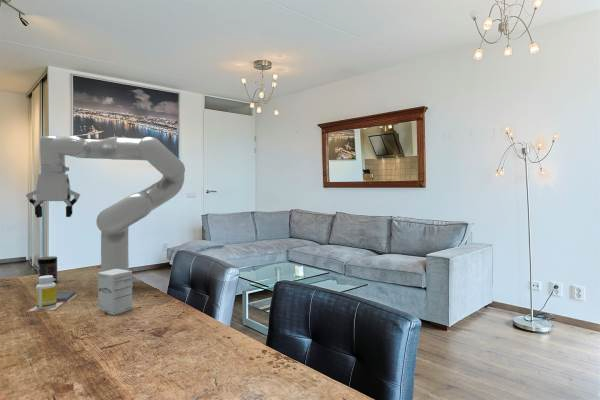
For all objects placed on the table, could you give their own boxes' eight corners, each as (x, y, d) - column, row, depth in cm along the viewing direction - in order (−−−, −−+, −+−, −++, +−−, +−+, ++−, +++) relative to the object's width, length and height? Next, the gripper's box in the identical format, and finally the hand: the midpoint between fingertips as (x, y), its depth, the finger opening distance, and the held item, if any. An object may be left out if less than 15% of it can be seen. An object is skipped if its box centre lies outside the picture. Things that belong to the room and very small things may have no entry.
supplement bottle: (60, 304, 127) (59, 274, 126) (48, 309, 121) (47, 278, 121) (45, 303, 127) (44, 274, 127) (32, 309, 122) (31, 278, 121)
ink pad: (75, 294, 138) (75, 291, 138) (66, 301, 130) (66, 298, 130) (50, 296, 136) (50, 292, 136) (39, 303, 128) (39, 299, 128)
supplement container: (50, 280, 161) (49, 255, 161) (61, 282, 159) (61, 257, 158) (34, 284, 155) (33, 258, 155) (45, 286, 153) (44, 260, 152)
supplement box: (97, 312, 122) (96, 272, 121) (118, 305, 128) (117, 267, 128) (112, 315, 118) (112, 275, 118) (133, 309, 125) (132, 270, 124)
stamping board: (77, 296, 138) (77, 293, 138) (56, 313, 121) (56, 309, 121) (49, 298, 136) (49, 295, 136) (23, 314, 119) (23, 311, 119)
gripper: (82, 170, 147) (83, 215, 147) (31, 170, 143) (32, 216, 143) (75, 170, 139) (76, 217, 140) (21, 169, 135) (22, 218, 136)
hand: (54, 217), depth 142 cm, fingers open, 9 cm apart
